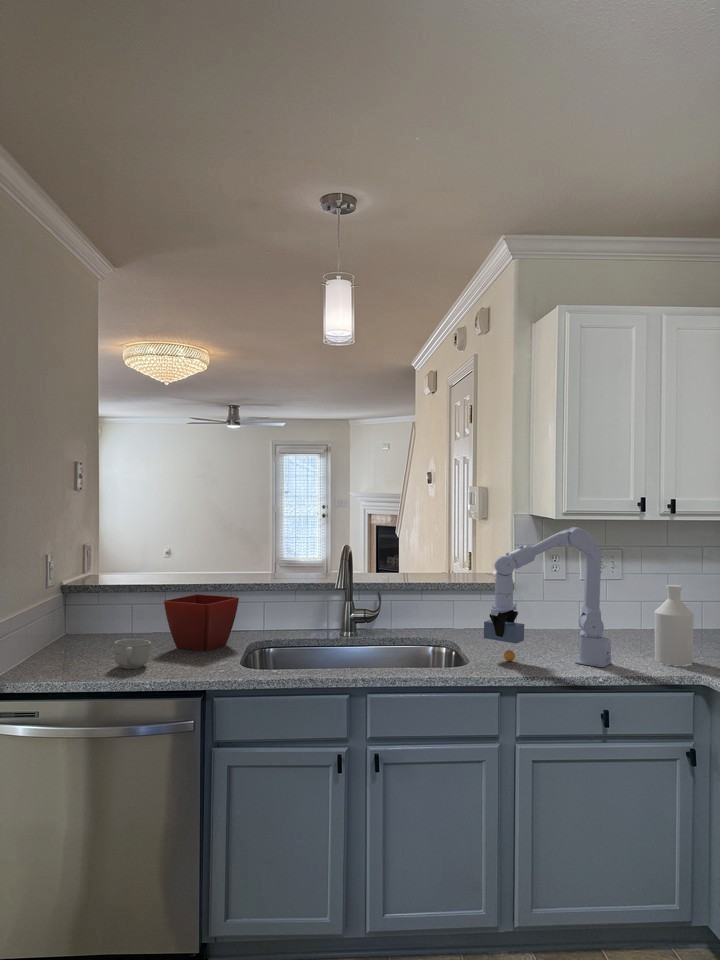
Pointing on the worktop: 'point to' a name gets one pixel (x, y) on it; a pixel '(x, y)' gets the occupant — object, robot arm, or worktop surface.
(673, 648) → the bottle
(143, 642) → the teacup
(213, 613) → the plant pot
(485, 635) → the slate blue block
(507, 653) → the ball
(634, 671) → the worktop surface
